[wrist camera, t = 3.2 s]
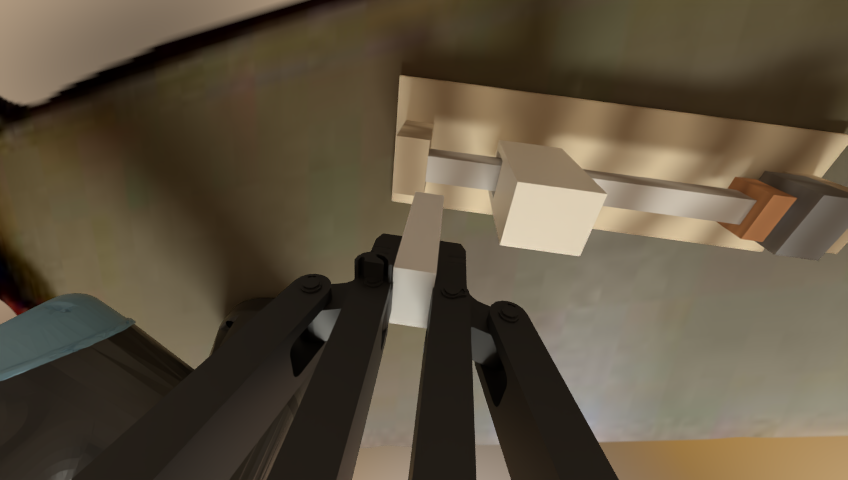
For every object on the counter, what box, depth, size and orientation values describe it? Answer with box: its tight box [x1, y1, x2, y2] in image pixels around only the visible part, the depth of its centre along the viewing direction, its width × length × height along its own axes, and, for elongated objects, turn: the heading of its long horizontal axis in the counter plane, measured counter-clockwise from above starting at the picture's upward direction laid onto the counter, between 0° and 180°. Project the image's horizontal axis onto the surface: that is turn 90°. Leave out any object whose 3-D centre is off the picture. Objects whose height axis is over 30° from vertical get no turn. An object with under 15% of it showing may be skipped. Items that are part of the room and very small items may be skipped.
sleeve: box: [488, 140, 607, 256], centre depth 23 cm, size 5×4×9 cm
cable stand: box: [392, 75, 848, 261], centre depth 26 cm, size 36×11×7 cm, turn 84°
